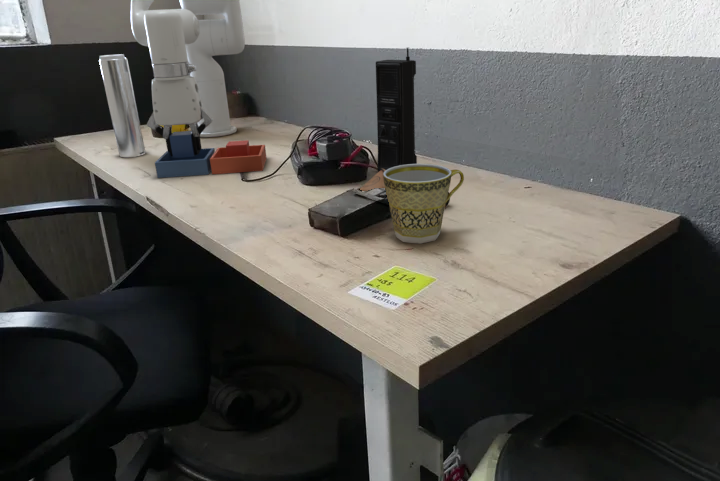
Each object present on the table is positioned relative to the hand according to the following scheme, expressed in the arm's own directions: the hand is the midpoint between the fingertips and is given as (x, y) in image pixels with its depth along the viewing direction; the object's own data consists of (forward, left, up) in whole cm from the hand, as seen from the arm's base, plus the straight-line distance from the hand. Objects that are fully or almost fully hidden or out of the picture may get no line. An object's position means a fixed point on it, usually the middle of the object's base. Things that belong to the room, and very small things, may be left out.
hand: (185, 153), depth 130 cm
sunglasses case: (+33, +45, -4) cm, 56 cm away
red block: (0, +12, -3) cm, 12 cm away
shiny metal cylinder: (-20, -19, -4) cm, 28 cm away
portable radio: (+13, +46, -4) cm, 48 cm away
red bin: (0, +12, -4) cm, 13 cm away
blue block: (0, 0, 0) cm, 0 cm away
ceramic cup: (+50, +46, -4) cm, 68 cm away
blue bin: (0, 0, -4) cm, 4 cm away
